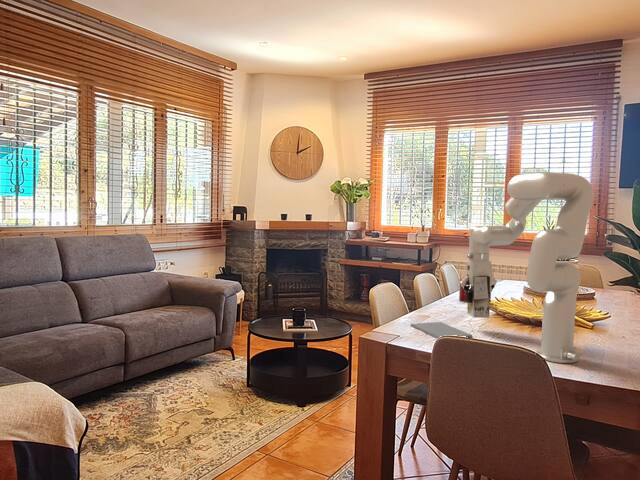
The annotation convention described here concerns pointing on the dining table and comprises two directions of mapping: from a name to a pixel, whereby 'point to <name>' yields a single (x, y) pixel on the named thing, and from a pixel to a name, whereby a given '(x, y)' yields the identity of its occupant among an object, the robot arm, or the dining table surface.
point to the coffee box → (480, 297)
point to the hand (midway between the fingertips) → (478, 301)
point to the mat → (439, 329)
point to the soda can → (462, 293)
